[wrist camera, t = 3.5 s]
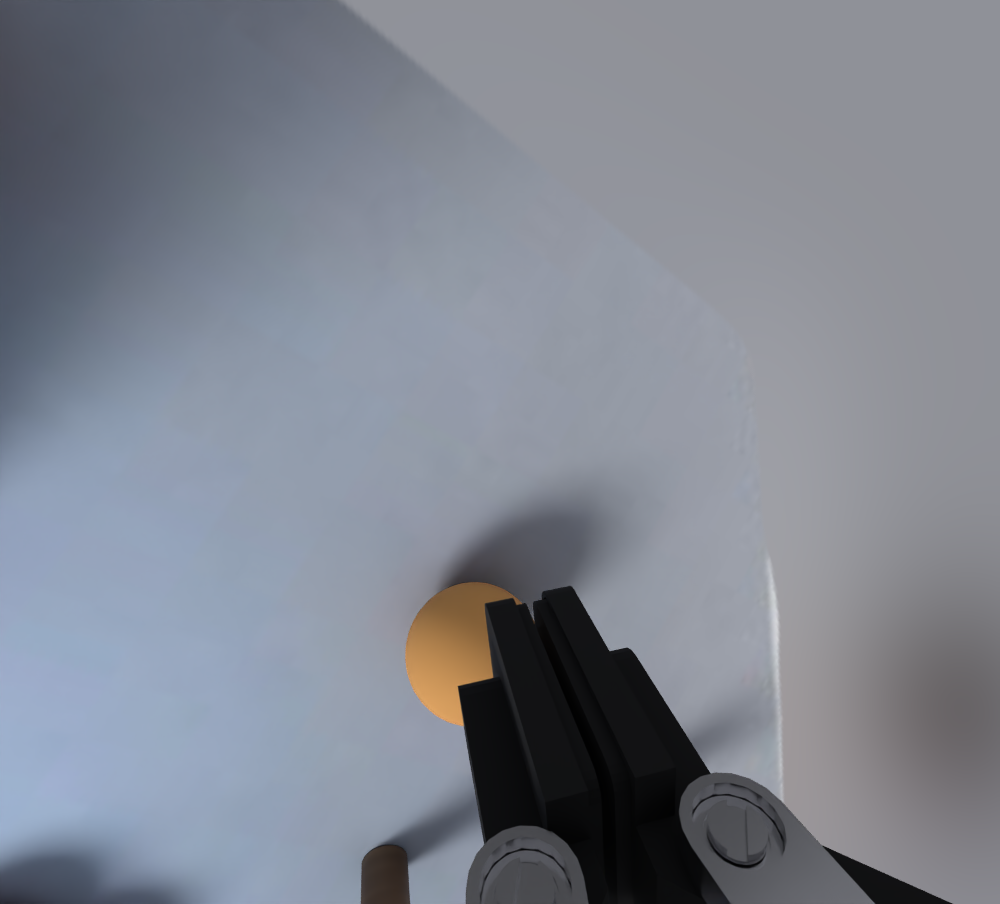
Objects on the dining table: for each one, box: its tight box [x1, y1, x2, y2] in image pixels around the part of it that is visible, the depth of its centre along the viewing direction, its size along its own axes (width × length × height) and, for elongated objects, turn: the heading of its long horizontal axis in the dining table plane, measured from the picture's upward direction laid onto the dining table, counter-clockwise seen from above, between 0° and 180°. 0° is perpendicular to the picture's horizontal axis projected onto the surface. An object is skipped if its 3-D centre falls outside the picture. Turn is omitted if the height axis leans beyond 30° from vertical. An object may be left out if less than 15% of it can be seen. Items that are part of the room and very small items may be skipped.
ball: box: [405, 582, 535, 726], centre depth 24 cm, size 6×6×6 cm
